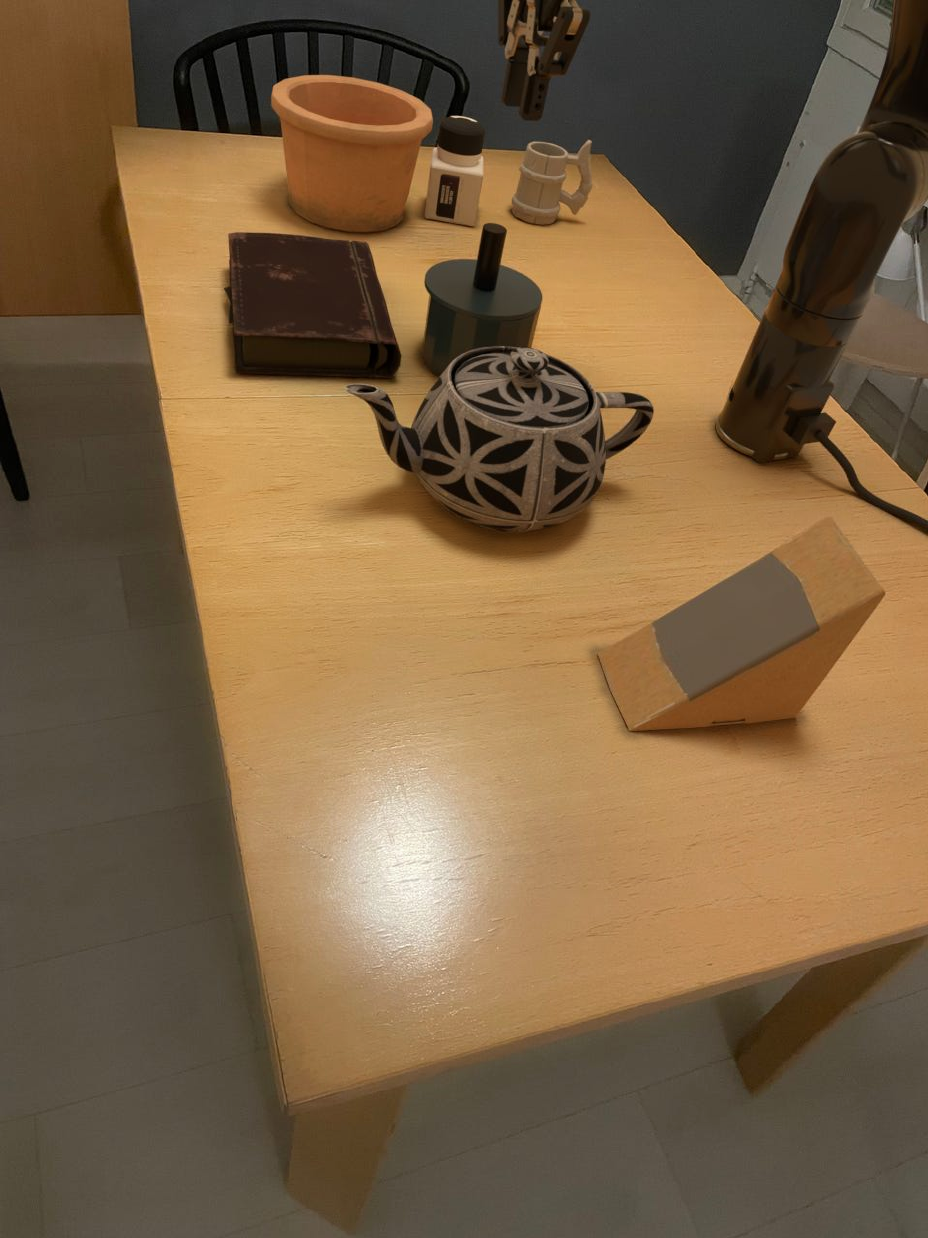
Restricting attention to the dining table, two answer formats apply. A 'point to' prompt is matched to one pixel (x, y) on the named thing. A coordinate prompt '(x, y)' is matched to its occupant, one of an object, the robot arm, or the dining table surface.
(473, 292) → the lid
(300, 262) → the diary
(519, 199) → the mug
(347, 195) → the pottery
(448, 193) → the container
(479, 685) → the dining table surface
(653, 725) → the sandwich container
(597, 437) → the teapot
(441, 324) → the pot
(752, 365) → the robot arm
